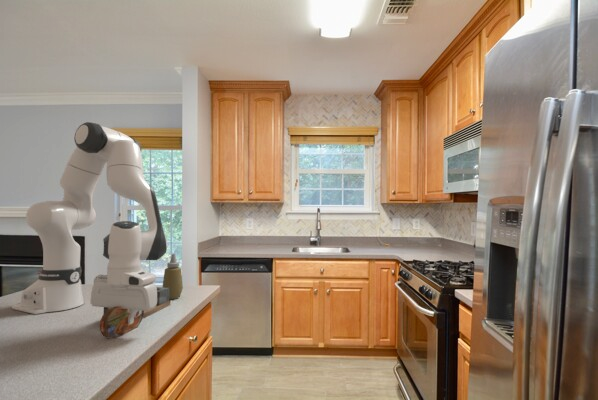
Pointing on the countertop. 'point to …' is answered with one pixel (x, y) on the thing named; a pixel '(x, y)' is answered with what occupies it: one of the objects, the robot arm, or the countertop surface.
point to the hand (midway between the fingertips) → (122, 322)
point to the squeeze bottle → (173, 278)
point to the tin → (118, 322)
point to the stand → (161, 301)
